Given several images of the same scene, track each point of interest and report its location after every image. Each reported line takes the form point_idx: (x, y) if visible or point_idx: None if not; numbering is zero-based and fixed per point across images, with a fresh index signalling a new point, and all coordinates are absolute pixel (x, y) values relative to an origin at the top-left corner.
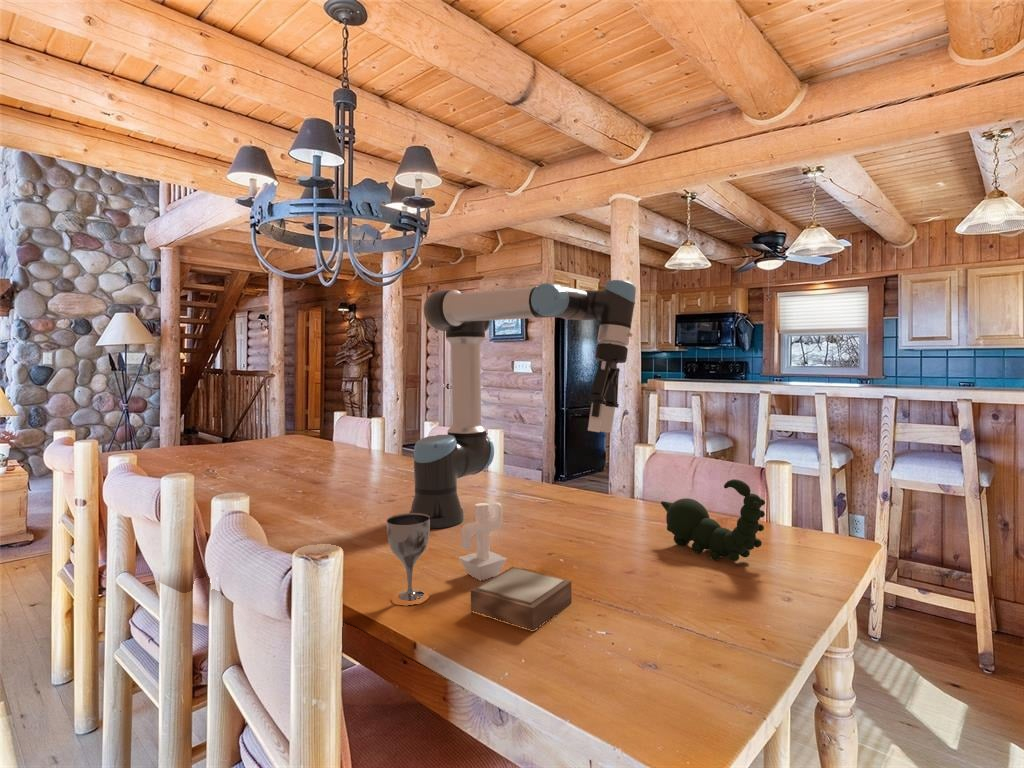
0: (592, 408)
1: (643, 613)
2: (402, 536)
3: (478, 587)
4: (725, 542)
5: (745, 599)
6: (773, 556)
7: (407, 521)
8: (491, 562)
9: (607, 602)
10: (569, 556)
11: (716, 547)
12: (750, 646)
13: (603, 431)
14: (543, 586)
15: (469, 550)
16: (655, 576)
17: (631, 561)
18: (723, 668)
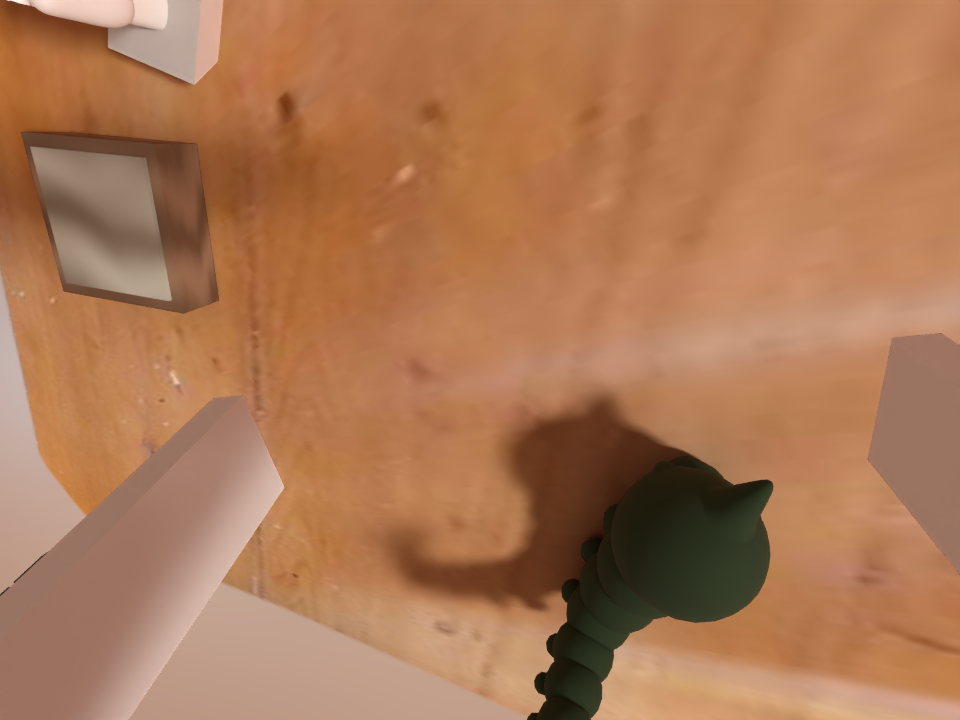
0: (18, 611)
1: (263, 426)
2: None
3: (38, 139)
4: (573, 601)
5: (407, 572)
6: (680, 656)
7: None
8: (148, 58)
9: (261, 362)
10: (441, 183)
11: (582, 570)
12: (267, 559)
13: (884, 381)
14: (122, 274)
15: None
16: (425, 427)
17: (489, 360)
18: None
